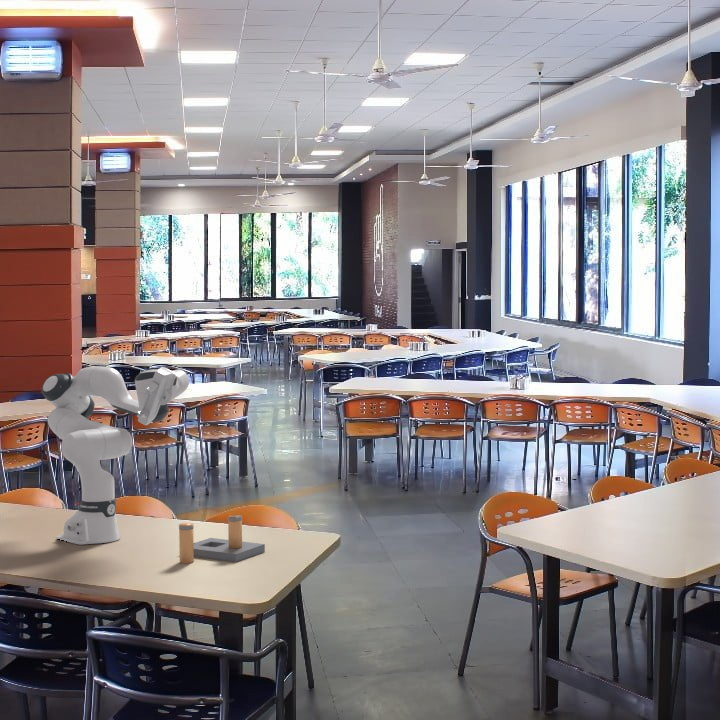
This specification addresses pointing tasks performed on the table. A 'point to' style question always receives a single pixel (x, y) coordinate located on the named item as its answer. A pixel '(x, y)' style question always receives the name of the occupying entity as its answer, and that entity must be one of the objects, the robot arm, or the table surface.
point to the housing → (228, 544)
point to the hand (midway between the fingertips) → (143, 403)
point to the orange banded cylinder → (186, 543)
